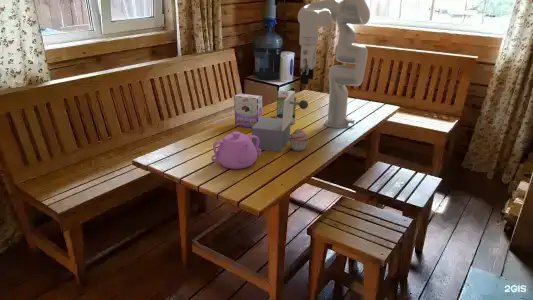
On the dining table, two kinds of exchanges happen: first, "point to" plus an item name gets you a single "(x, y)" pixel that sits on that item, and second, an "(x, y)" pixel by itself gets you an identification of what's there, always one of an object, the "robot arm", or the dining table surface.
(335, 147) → the dining table surface
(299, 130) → the cupcake
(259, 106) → the candy box
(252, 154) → the purple round pot
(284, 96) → the tea box
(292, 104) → the lid flap
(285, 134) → the carton
